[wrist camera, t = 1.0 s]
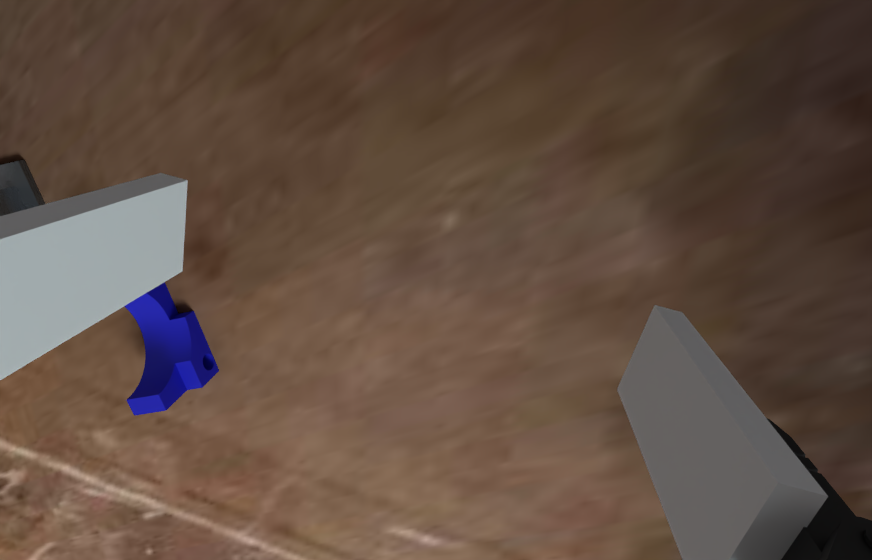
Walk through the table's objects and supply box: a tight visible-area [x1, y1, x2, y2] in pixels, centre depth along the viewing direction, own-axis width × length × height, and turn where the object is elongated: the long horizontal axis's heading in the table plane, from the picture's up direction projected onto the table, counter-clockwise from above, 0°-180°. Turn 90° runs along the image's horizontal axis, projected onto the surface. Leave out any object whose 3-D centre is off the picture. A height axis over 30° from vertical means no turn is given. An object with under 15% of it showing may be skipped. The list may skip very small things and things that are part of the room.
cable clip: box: [125, 282, 219, 415], centre depth 43 cm, size 12×4×6 cm, turn 14°
